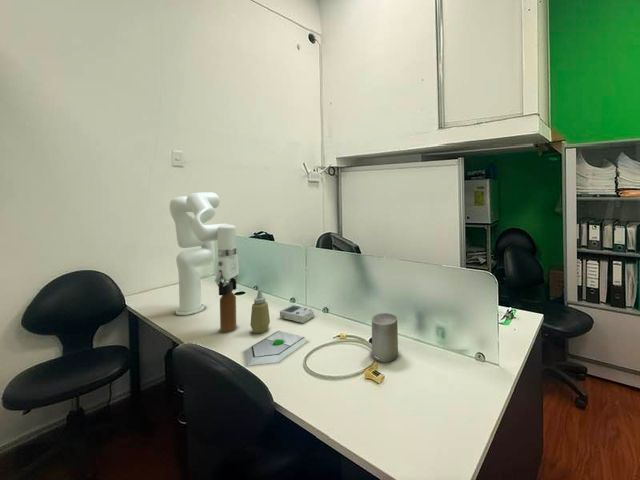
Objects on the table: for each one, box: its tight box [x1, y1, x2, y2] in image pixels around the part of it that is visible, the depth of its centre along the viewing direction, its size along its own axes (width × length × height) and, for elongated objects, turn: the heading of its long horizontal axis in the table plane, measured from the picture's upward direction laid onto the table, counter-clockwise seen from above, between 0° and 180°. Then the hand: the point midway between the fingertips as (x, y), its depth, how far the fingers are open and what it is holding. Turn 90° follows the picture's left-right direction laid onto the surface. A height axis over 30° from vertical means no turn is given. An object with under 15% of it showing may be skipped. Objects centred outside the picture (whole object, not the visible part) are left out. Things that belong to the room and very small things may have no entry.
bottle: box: [219, 291, 237, 334], centre depth 133 cm, size 6×6×20 cm
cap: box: [225, 281, 234, 293], centre depth 133 cm, size 4×4×4 cm
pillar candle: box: [370, 312, 399, 363], centre depth 110 cm, size 10×10×15 cm
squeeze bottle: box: [249, 289, 271, 334], centre depth 131 cm, size 8×8×18 cm
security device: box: [244, 330, 307, 366], centre depth 115 cm, size 17×22×2 cm
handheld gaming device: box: [279, 304, 315, 324], centre depth 144 cm, size 9×15×4 cm, turn 63°
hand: (227, 291), depth 133 cm, fingers open, 6 cm apart
